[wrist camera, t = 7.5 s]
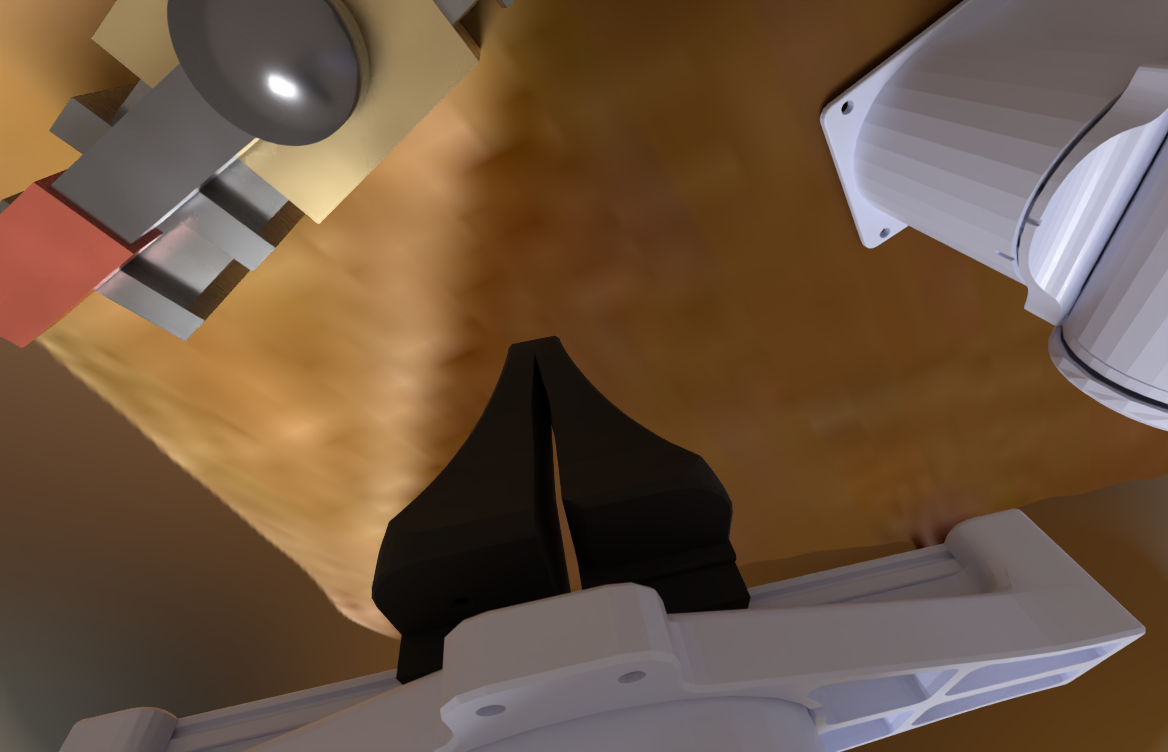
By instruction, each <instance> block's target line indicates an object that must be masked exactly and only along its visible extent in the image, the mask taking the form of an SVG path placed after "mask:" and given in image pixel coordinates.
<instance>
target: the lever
mask: <svg viewBox="0 0 1168 752" xmlns="http://www.w3.org/2000/svg"><path fill="white" fill-rule="evenodd" d="M167 21H168V28H169V34H170V38H171V41H172V45H173V48H174V50H175V53H176V55H177V58H178V60H179V62H180V63H179V64H178V65H177V66H176V67H175V68H174V69H173V70H172V71H171V72H170V73H169V74H168V75H167V76H166V77H165V78H163V79H162V80H161V81H160V82H159V83H158V84H157V85H156V86H155V87H154V88H153V89H152V90H151V91H150V92H149V93H148V94H147V95H145V96H144V97H143V98H142V99H141V100H140V101H139V102H138V103H137V104H136V105H135V106H134V107H133V108H132V109H131V110H130V111H129V112H128V113H126V114H125V115H124V116H123V117H122V118H121V119H120V120H119V121H118V122H117V123H116V124H115V125H114V126H113V127H112V128H111V129H110V130H108V131H107V132H106V133H105V134H104V135H103V136H102V137H101V138H100V139H99V140H98V141H97V142H96V143H95V144H94V145H93V146H92V147H91V148H89V149H88V150H87V151H86V152H85V153H84V154H83V155H82V156H81V157H80V158H79V159H78V160H77V161H76V162H75V163H74V164H73V165H72V166H70V167H69V168H68V169H67V170H64V171H62V172H59V173H56V174H54V175H51V176H49V177H46V178H43V179H41V180H38V181H36V182H33V183H32V184H31V185H30V186H29V187H28V188H27V189H26V190H25V191H24V192H23V193H22V194H21V195H20V196H19V197H18V198H17V199H16V200H15V201H13V202H12V203H11V204H10V205H9V206H8V207H7V208H6V209H5V210H4V211H3V212H2V213H1V214H0V336H1V337H3V338H4V339H6V340H8V341H10V342H12V343H14V344H16V345H18V346H20V347H22V348H23V347H24V346H26V345H27V344H28V343H30V342H31V341H33V340H34V339H35V338H37V337H38V336H39V335H41V334H42V333H43V332H45V331H46V330H48V329H49V328H50V327H52V326H53V325H54V324H56V323H57V322H58V321H60V320H61V319H62V318H63V317H64V316H66V315H67V314H68V313H69V312H70V311H72V310H73V309H74V308H75V307H76V306H78V305H79V304H80V303H81V302H82V301H84V300H85V299H86V298H87V297H88V296H89V295H91V294H92V293H93V292H94V291H95V290H97V289H98V288H99V287H100V286H101V285H103V284H104V283H105V282H106V281H107V280H108V279H110V278H111V277H112V276H113V275H114V274H116V273H117V272H118V271H119V270H120V269H122V268H123V267H124V266H125V265H126V264H128V263H129V262H130V261H131V260H132V259H133V258H135V257H136V256H137V255H138V254H139V253H141V252H142V251H143V250H144V249H145V248H147V247H148V246H149V245H150V244H151V243H152V242H154V241H155V240H156V239H157V238H158V237H160V236H161V235H162V234H163V232H162V231H160V230H159V229H158V228H157V226H158V225H159V224H161V223H162V222H163V221H164V220H165V219H166V218H168V217H169V216H170V215H171V214H172V213H174V212H175V211H176V210H177V209H178V208H179V207H181V206H182V205H183V204H184V203H185V202H186V201H188V200H189V199H190V198H191V197H192V196H194V195H195V194H196V193H197V192H198V191H199V190H201V189H202V188H203V187H204V186H205V185H207V184H208V183H209V182H210V181H211V180H212V179H214V178H215V177H216V176H217V175H218V174H219V173H221V172H222V171H223V170H224V169H225V168H227V167H228V166H229V165H230V164H231V163H232V162H234V161H235V160H236V159H237V158H238V157H239V156H241V155H242V154H243V153H244V152H245V151H247V150H248V149H249V148H250V147H251V146H252V145H254V144H255V143H256V142H257V141H258V140H260V139H261V140H264V141H267V142H271V143H274V144H279V145H286V146H303V145H310V144H313V143H317V142H320V141H322V140H324V139H326V138H328V137H329V136H331V135H332V134H333V133H335V132H336V131H337V130H338V129H340V128H341V127H342V126H343V125H344V124H346V123H347V122H348V121H349V120H350V119H351V118H353V117H354V116H355V115H356V113H357V112H358V111H359V109H360V108H361V106H362V104H363V102H364V100H365V98H366V95H367V92H368V87H369V79H370V67H369V58H368V53H367V49H366V46H365V42H364V39H363V37H362V34H361V32H360V29H359V27H358V25H357V23H356V22H355V20H354V18H353V16H352V15H351V13H350V12H349V10H348V9H347V7H346V6H345V4H344V3H343V2H342V1H341V0H168V4H167Z"/></svg>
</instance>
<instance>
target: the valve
mask: <svg viewBox="0 0 1168 752" xmlns="http://www.w3.org/2000/svg"><path fill="white" fill-rule="evenodd" d="M341 1H342V2H343V3H344V4H345V6H346V7H347V9H348V10H349V12H350V13H351V15H352V16H353V18H354V20H355V22H356V23H357V25H358V27H359V29H360V32H361V34H362V37H363V39H364V42H365V46H366V49H367V53H368V58H369V67H370V79H369V87H368V92H367V95H366V98H365V100H364V102H363V104H362V106H361V108H360V109H359V111H358V112H357V113H356V115H355V116H354V117H353V118H351V119H350V120H349V121H348V122H347V123H346V124H344V125H343V126H342V127H341V128H340V129H338V130H337V131H336V132H335V133H333V134H332V135H331V136H329V137H328V138H326V139H324V140H322V141H320V142H317V143H313V144H310V145H303V146H286V145H279V144H274V143H271V142H267V141H264V140H261V139H260V140H258V141H257V142H256V143H255V144H254V145H252V146H251V147H250V148H249V149H248V150H247V151H245V152H244V153H243V154H242V155H241V156H239V157H238V158H237V159H236V160H235V161H234V162H232V163H231V164H230V165H229V166H228V167H227V168H225V169H224V170H223V171H222V172H221V173H219V174H218V175H217V176H216V177H215V178H214V179H212V180H211V181H210V182H209V183H208V184H207V185H205V186H204V187H203V188H202V189H201V190H199V191H198V192H197V193H196V194H195V195H194V196H192V197H191V198H190V199H189V200H188V201H186V202H185V203H184V204H183V205H182V206H181V207H179V208H178V209H177V210H176V211H175V212H174V213H172V214H171V215H170V216H169V217H168V218H166V219H165V220H164V221H163V222H162V223H161V224H159V225H158V226H157V228H158V229H159V230H160V231H162V232H163V234H162V235H161V236H160V237H158V238H157V239H156V240H155V241H154V242H152V243H151V244H150V245H149V246H148V247H147V248H145V249H144V250H143V251H142V252H141V253H139V254H138V255H137V256H136V257H135V258H133V259H132V260H131V261H130V262H129V263H128V264H126V265H125V266H124V267H123V268H122V269H120V270H119V271H118V272H117V273H116V274H114V275H113V276H112V277H111V278H110V279H108V280H107V281H106V282H105V283H104V284H103V285H101V286H100V287H99V288H98V289H97V290H95V291H96V292H98V293H100V294H101V295H103V296H105V297H107V298H109V299H110V300H112V301H114V302H116V303H118V304H119V305H121V306H123V307H125V308H127V309H128V310H130V311H132V312H134V313H135V314H137V315H139V316H141V317H143V318H144V319H146V320H148V321H150V322H152V323H153V324H155V325H157V326H159V327H160V328H162V329H164V330H166V331H168V332H169V333H171V334H173V335H175V336H177V337H178V338H180V339H182V340H184V341H186V340H187V339H188V338H189V337H190V335H191V334H192V333H193V332H194V331H195V330H196V329H197V328H198V327H199V326H200V325H201V324H202V323H203V322H204V321H205V320H206V319H207V318H208V317H209V315H210V314H211V313H212V312H213V311H214V310H215V309H216V308H217V307H218V305H219V304H220V303H221V302H222V301H223V300H224V299H225V298H226V297H227V295H228V294H229V293H230V292H231V291H232V290H233V289H234V288H235V287H236V285H237V284H238V283H239V282H240V281H241V280H242V279H243V278H244V277H245V275H246V274H247V273H248V272H249V271H250V270H251V271H253V270H254V269H255V268H256V267H257V266H258V265H259V264H260V263H261V262H262V261H263V260H264V259H265V258H266V257H267V256H268V255H269V254H270V253H271V252H272V251H273V250H274V249H275V248H276V247H277V245H278V244H279V243H280V242H281V241H282V240H283V239H284V237H285V236H286V235H287V234H288V233H289V232H290V231H291V229H292V228H293V227H294V226H295V225H296V224H297V223H298V221H299V220H300V219H301V218H302V217H303V216H304V215H305V214H307V215H308V216H309V217H310V218H312V219H313V220H314V221H315V222H316V223H318V224H320V223H321V222H322V221H323V220H324V219H325V218H326V217H327V216H328V214H329V213H330V212H331V211H332V210H333V209H334V208H335V207H336V206H337V205H338V204H339V203H340V202H341V201H342V200H343V199H344V198H345V197H346V196H347V195H348V194H349V193H350V192H351V191H352V190H353V189H354V188H355V187H356V186H357V185H358V184H359V183H360V182H361V181H362V180H363V179H364V178H365V177H366V176H367V175H368V174H369V173H370V172H371V171H372V170H373V169H374V168H375V167H376V166H377V165H378V164H379V163H380V162H381V161H382V160H383V159H384V158H385V157H386V156H387V155H388V154H389V153H390V152H391V151H392V150H393V149H394V148H395V147H396V146H397V145H398V144H399V143H400V142H401V141H402V140H403V138H404V137H405V136H406V135H407V134H408V133H409V132H410V131H411V130H412V129H413V128H414V127H415V126H416V125H417V124H418V123H419V122H420V121H421V120H422V119H423V118H424V117H425V116H426V115H427V114H428V113H429V112H430V111H431V110H432V109H433V108H434V107H435V106H436V105H437V104H438V103H439V102H440V101H441V100H442V99H443V98H444V97H445V96H446V95H447V94H448V93H449V92H450V91H451V90H452V89H453V88H454V87H455V86H456V85H457V84H458V83H459V82H460V81H461V80H462V79H463V78H464V77H465V76H466V75H467V74H468V73H469V72H470V71H471V70H472V69H473V68H474V67H475V66H476V65H477V64H478V62H479V59H480V51H481V50H480V48H479V47H478V45H477V44H476V43H475V41H474V40H473V39H472V37H471V36H470V35H469V33H468V32H467V31H466V29H465V28H464V27H463V25H462V24H461V23H460V20H461V19H462V18H463V17H464V16H465V15H466V14H467V13H468V12H469V11H470V10H471V9H472V8H473V7H474V5H475V4H476V3H477V2H478V1H479V0H341ZM514 1H515V0H497V2H498V3H499V4H500V6H501V7H502V8H508V7H509V6H510V5H511V4H512V3H513V2H514ZM167 4H168V0H117V1H116V2H115V4H114V5H113V7H112V8H111V10H110V11H109V13H108V14H107V16H106V17H105V19H104V20H103V22H102V23H101V25H100V26H99V28H98V29H97V31H96V32H95V34H94V35H93V37H92V38H91V39H92V40H94V41H95V42H96V43H97V44H98V45H100V46H101V47H102V48H103V49H105V50H106V51H107V52H108V53H109V54H111V55H112V56H113V57H114V58H116V59H117V60H118V61H119V62H121V63H122V64H123V65H124V66H125V67H127V68H128V69H129V70H130V71H132V72H133V73H134V74H135V75H136V76H138V77H139V78H140V81H139V82H138V83H136V84H131V85H127V86H122V87H117V88H113V89H108V90H103V91H99V92H94V93H89V94H85V95H80V96H75V97H72V98H71V99H70V101H69V102H68V104H67V105H66V107H65V108H64V110H63V111H62V112H61V114H60V115H59V117H58V118H57V120H56V121H55V123H54V124H53V126H52V127H51V129H50V130H49V131H50V132H52V133H53V134H54V135H56V136H57V137H59V138H60V139H62V140H63V141H65V142H66V143H67V144H69V145H70V146H72V147H73V148H75V149H76V150H78V151H79V152H80V153H82V154H84V153H85V152H86V151H87V150H88V149H89V148H91V147H92V146H93V145H94V144H95V143H96V142H97V141H98V140H99V139H100V138H101V137H102V136H103V135H104V134H105V133H106V132H107V131H108V130H110V129H111V128H112V127H113V126H114V125H115V124H116V123H117V122H118V121H119V120H120V119H121V118H122V117H123V116H124V115H125V114H126V113H128V112H129V111H130V110H131V109H132V108H133V107H134V106H135V105H136V104H137V103H138V102H139V101H140V100H141V99H142V98H143V97H144V96H145V95H147V94H148V93H149V92H150V91H151V90H152V89H153V88H154V87H155V86H156V85H157V84H158V83H159V82H160V81H161V80H162V79H163V78H165V77H166V76H167V75H168V74H169V73H170V72H171V71H172V70H173V69H174V68H175V67H176V66H177V65H178V64H179V63H180V62H179V60H178V58H177V55H176V53H175V50H174V48H173V45H172V41H171V38H170V34H169V28H168V21H167ZM23 192H24V191H23ZM23 192H20V193H18V194H15V195H13V196H10V197H8V198H5V199H3V200H1V202H0V214H1V213H2V212H3V211H4V210H5V209H6V208H7V207H8V206H9V205H10V204H11V203H12V202H13V201H15V200H16V199H17V198H18V197H19V196H20V195H21V194H22V193H23Z"/></svg>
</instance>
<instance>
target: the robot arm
mask: <svg viewBox="0 0 1168 752" xmlns="http://www.w3.org/2000/svg"><path fill="white" fill-rule="evenodd" d="M846 101H848V106H847V109H846V110H845V111H844V112H842V111H841V109H842V106H843V104H844V103H845V102H846ZM820 122H821V126H822V129H823V131H824V134H825V137H826V140H827V143H828V146H829V149H830V152H831V155H832V158H833V161H834V163H835V166H836V169H837V172H838V175H839V178H840V181H841V184H842V187H843V190H844V193H845V195H846V198H847V201H848V204H849V207H850V210H851V213H852V216H853V219H854V222H855V225H856V228H857V230H858V233H859V236H860V239H861V242H862V244H863V245H864V246H866V247H868V248H874V247H876V246H878V245H879V244H881V243H883V242H884V241H886V240H887V239H889V238H890V237H892V236H893V235H895V234H896V233H898V232H899V231H901V230H902V229H904V228H905V227H907V226H908V225H909V226H911V227H913V228H915V229H917V230H919V231H921V232H923V233H925V234H926V235H928V236H930V237H932V238H934V239H936V240H938V241H940V242H942V243H944V244H946V245H948V246H950V247H952V248H954V249H956V250H958V251H960V252H962V253H963V254H965V255H967V256H969V257H971V258H973V259H975V260H977V261H979V262H981V263H983V264H985V265H987V266H989V267H991V268H993V269H995V270H997V271H999V272H1000V273H1002V274H1004V275H1006V276H1008V277H1010V278H1012V279H1014V280H1016V281H1018V282H1020V283H1022V284H1024V285H1026V286H1027V287H1028V298H1027V300H1026V303H1025V306H1024V309H1026V310H1028V311H1030V312H1031V313H1033V314H1035V315H1037V316H1039V317H1040V318H1042V319H1044V320H1046V321H1047V322H1049V323H1051V324H1053V325H1055V327H1054V329H1053V330H1052V332H1051V335H1050V337H1049V343H1048V350H1049V354H1050V357H1051V360H1052V361H1053V363H1054V364H1055V366H1056V367H1057V369H1058V370H1059V371H1060V372H1061V373H1062V374H1063V375H1064V376H1065V377H1066V378H1067V379H1068V380H1069V381H1070V382H1071V383H1072V384H1074V385H1075V386H1076V387H1077V388H1079V389H1080V390H1081V391H1083V392H1084V393H1086V394H1087V395H1089V396H1091V397H1092V398H1094V399H1095V400H1097V401H1098V402H1100V403H1101V404H1103V405H1105V406H1106V407H1108V408H1110V409H1112V410H1114V411H1116V412H1118V413H1120V414H1122V415H1124V416H1127V417H1129V418H1131V419H1134V420H1136V421H1139V422H1142V423H1144V424H1147V425H1150V426H1153V427H1156V428H1159V429H1162V430H1166V431H1168V0H963V1H962V2H961V3H959V4H958V5H957V6H956V7H954V8H953V9H952V10H950V11H949V12H948V13H946V14H945V15H944V16H942V17H941V18H940V19H939V20H937V21H936V22H935V23H933V24H932V25H931V26H929V27H928V28H927V29H925V30H924V31H923V32H922V33H920V34H919V35H918V36H916V37H915V38H914V39H912V40H911V41H910V42H908V43H907V44H906V45H905V46H903V47H902V48H901V49H899V50H898V51H897V52H895V53H894V54H893V55H891V56H890V57H889V58H888V59H886V60H885V61H884V62H882V63H881V64H880V65H878V66H877V67H876V68H874V69H873V70H872V71H871V72H869V73H868V74H867V75H865V76H864V77H863V78H861V79H860V80H859V81H857V82H856V83H855V84H854V85H852V86H851V87H850V88H848V89H847V90H846V91H844V92H843V93H842V94H840V95H839V96H838V97H837V98H835V99H834V100H833V101H831V102H830V103H829V104H828V105H827V106H826V107H825V108H824V109H823V111H822V113H821V116H820ZM883 229H885V230H884V232H883V233H881V231H882V230H883ZM880 233H881V234H880ZM551 425H552V428H553V432H554V436H555V442H556V450H557V458H558V466H559V475H560V485H561V495H562V501H563V505H564V509H565V513H566V517H567V521H568V525H569V529H570V533H571V537H572V541H573V545H574V549H575V553H576V557H577V561H578V567H579V573H580V579H581V585H582V590H580V591H576V592H572V593H571V589H570V584H569V578H568V572H567V566H566V560H565V553H564V547H563V541H562V535H561V529H560V523H559V516H558V510H557V504H556V494H555V481H554V463H553V445H552V428H551ZM732 513H733V511H732V502H731V500H730V498H729V496H728V494H727V492H726V490H725V488H724V487H723V485H722V484H721V482H720V481H719V479H718V478H717V476H716V475H715V473H714V472H713V471H712V469H711V468H710V467H709V465H708V464H707V463H706V462H705V460H704V459H703V458H702V457H701V456H700V455H697V454H695V453H693V452H691V451H688V450H686V449H684V448H682V447H679V446H677V445H675V444H673V443H670V442H668V441H667V440H665V439H663V438H661V437H659V436H658V435H656V434H654V433H653V432H651V431H650V430H648V429H646V428H645V427H643V426H642V425H640V424H639V423H637V422H636V421H634V420H633V419H631V418H630V417H628V416H627V415H626V414H625V413H623V412H622V411H621V410H619V409H618V408H617V407H616V406H615V405H613V404H612V403H611V402H610V401H609V400H608V399H606V398H605V397H604V396H603V395H602V394H601V393H600V392H599V391H598V390H597V389H596V388H595V387H594V386H593V385H592V384H591V383H590V382H589V381H588V379H587V378H586V377H585V376H584V375H583V374H582V372H581V371H580V370H579V369H578V368H577V366H576V365H575V364H574V362H573V361H572V360H571V358H570V357H569V355H568V354H567V352H566V351H565V349H564V348H563V346H562V344H561V342H560V339H559V338H558V337H556V336H551V337H546V338H541V339H536V340H531V341H526V342H521V343H515V344H512V345H511V346H510V348H509V350H508V355H507V358H506V361H505V364H504V367H503V370H502V373H501V375H500V378H499V380H498V383H497V385H496V387H495V390H494V392H493V394H492V396H491V398H490V400H489V402H488V404H487V406H486V408H485V410H484V412H483V414H482V416H481V417H480V419H479V421H478V423H477V424H476V426H475V428H474V429H473V431H472V432H471V434H470V435H469V437H468V438H467V440H466V441H465V443H464V444H463V445H462V447H461V448H460V449H459V451H458V452H457V454H456V455H455V456H454V458H453V459H452V460H451V461H450V463H449V464H448V465H447V466H446V467H445V469H444V470H443V471H442V472H441V473H440V474H439V475H438V476H437V477H436V478H435V480H434V481H433V482H432V483H431V484H430V485H429V486H428V487H427V488H426V489H425V490H424V491H423V492H422V493H421V494H420V495H419V496H418V497H417V498H416V499H414V500H413V501H412V502H411V503H410V504H409V505H408V506H407V507H406V508H404V509H403V510H402V511H401V512H400V513H399V514H398V515H397V516H396V517H394V518H393V519H392V520H391V521H390V522H389V523H388V527H387V530H386V533H385V536H384V538H383V541H382V544H381V548H380V551H379V555H378V560H377V565H376V570H375V575H374V580H373V585H372V599H373V601H374V603H375V605H376V606H377V608H378V609H379V610H380V611H381V612H382V613H383V615H384V616H385V617H386V618H387V619H388V620H389V621H390V622H391V623H392V625H393V626H394V627H395V628H396V629H397V630H398V631H399V632H400V634H401V635H402V637H401V645H400V652H399V660H398V667H397V669H394V670H390V671H386V672H381V673H376V674H372V675H368V676H363V677H359V678H355V679H350V680H346V681H342V682H337V683H333V684H328V685H324V686H320V687H316V688H311V689H307V690H303V691H298V692H294V693H289V694H285V695H281V696H276V697H272V698H267V699H263V700H259V701H254V702H250V703H245V704H241V705H237V706H233V707H228V708H224V709H219V710H215V711H210V712H206V713H202V714H197V715H193V716H189V717H184V718H180V719H177V718H176V717H175V716H174V715H173V714H171V713H169V712H167V711H165V710H163V709H159V708H155V707H139V708H132V709H128V710H123V711H119V712H114V713H110V714H105V715H101V716H97V717H92V718H88V719H83V720H81V721H79V722H78V723H76V724H75V725H74V726H73V728H72V730H71V732H70V733H69V735H68V737H67V739H66V740H65V742H64V744H63V746H62V747H61V749H60V751H59V752H841V751H844V750H847V749H851V748H854V747H857V746H860V745H863V744H866V743H869V742H873V741H876V740H879V739H882V738H885V737H888V736H891V735H894V734H898V733H901V732H903V731H907V730H910V729H913V728H916V727H919V726H922V725H926V724H929V723H932V722H935V721H938V720H941V719H944V718H947V717H951V716H954V715H957V714H960V713H964V712H967V711H970V710H973V709H977V708H980V707H983V706H987V705H990V704H994V703H997V702H1001V701H1004V700H1008V699H1011V698H1015V697H1018V696H1022V695H1026V694H1030V693H1033V692H1037V691H1041V690H1045V689H1049V688H1053V687H1056V686H1060V685H1064V684H1067V683H1069V682H1071V681H1072V680H1074V679H1075V678H1077V677H1078V676H1080V675H1081V674H1083V673H1084V672H1086V671H1088V670H1089V669H1091V668H1092V667H1094V666H1095V665H1097V664H1099V663H1100V662H1102V661H1103V660H1105V659H1106V658H1108V657H1109V656H1111V655H1112V654H1114V653H1116V652H1117V651H1119V650H1120V649H1122V648H1123V647H1125V646H1126V645H1128V644H1130V643H1131V642H1133V641H1134V640H1136V639H1137V638H1139V637H1140V636H1142V635H1143V634H1145V627H1144V626H1143V625H1142V624H1141V623H1140V622H1139V621H1138V620H1137V619H1136V618H1135V617H1133V616H1132V615H1131V614H1130V613H1129V612H1128V611H1127V610H1126V609H1125V608H1124V607H1123V606H1122V605H1121V604H1120V603H1118V601H1116V600H1115V599H1114V598H1113V597H1112V596H1111V595H1110V594H1109V593H1108V592H1107V591H1106V590H1104V589H1103V587H1102V586H1100V585H1099V584H1098V583H1097V582H1096V581H1095V580H1094V579H1093V578H1092V577H1091V576H1090V575H1089V574H1088V573H1086V572H1085V571H1084V570H1083V569H1082V568H1081V567H1080V566H1079V565H1078V564H1077V563H1076V562H1075V561H1074V560H1073V559H1072V558H1071V557H1070V556H1069V555H1067V554H1066V553H1065V552H1064V551H1063V550H1062V549H1061V548H1060V547H1059V546H1058V545H1057V544H1056V543H1055V542H1054V541H1052V540H1051V539H1050V538H1049V537H1048V536H1047V535H1046V534H1045V533H1044V532H1043V531H1042V530H1041V529H1040V528H1039V527H1038V526H1037V525H1035V524H1034V523H1033V522H1032V521H1031V520H1030V519H1029V518H1028V517H1027V516H1026V515H1025V514H1024V513H1023V512H1022V511H1021V510H1019V509H1010V510H1006V511H1001V512H997V513H992V514H988V515H984V516H979V517H975V518H971V519H968V520H965V521H963V522H961V523H959V524H958V525H956V526H955V527H954V528H953V529H952V530H951V531H950V532H949V534H948V535H947V537H946V540H945V543H944V544H940V545H936V546H931V547H927V548H923V549H918V550H914V551H909V552H905V553H901V554H897V555H892V556H888V557H883V558H879V559H875V560H871V561H866V562H862V563H857V564H853V565H848V566H845V567H840V568H835V569H832V570H826V571H822V572H818V573H814V574H809V575H805V576H801V577H796V578H792V579H787V580H783V581H778V582H774V583H770V584H765V585H761V586H757V587H752V588H748V589H747V588H746V585H745V583H744V581H743V579H742V577H741V574H740V572H739V570H738V568H737V565H736V563H735V561H736V554H735V551H734V549H733V547H732V545H731V543H730V540H729V534H730V527H731V520H732Z"/></svg>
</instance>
